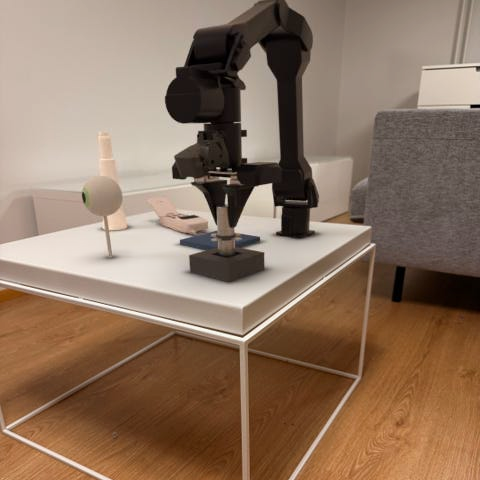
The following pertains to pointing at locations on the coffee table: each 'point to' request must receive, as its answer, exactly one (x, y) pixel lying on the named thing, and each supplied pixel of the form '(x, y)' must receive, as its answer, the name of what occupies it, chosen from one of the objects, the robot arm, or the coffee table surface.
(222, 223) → the bolted post stand
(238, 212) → the robot arm
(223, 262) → the square hole block
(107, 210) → the eyeball on stick
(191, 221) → the mobile phone
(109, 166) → the cosmetic bottle
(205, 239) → the mat
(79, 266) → the coffee table surface
